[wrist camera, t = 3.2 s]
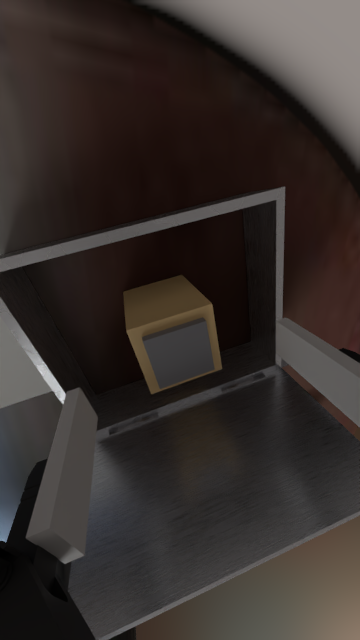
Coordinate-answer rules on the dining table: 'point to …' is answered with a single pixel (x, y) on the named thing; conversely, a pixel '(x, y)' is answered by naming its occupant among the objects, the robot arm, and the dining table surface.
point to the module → (171, 332)
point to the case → (193, 442)
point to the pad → (17, 371)
